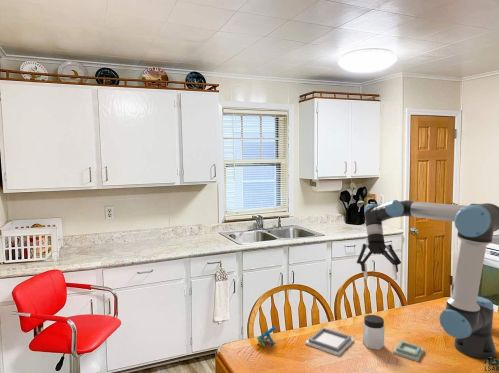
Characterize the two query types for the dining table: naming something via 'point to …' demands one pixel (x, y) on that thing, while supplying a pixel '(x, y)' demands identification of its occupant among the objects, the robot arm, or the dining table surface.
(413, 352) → the small collar
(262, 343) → the blue green toy
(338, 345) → the grey picture frame
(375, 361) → the dining table surface
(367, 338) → the jar
